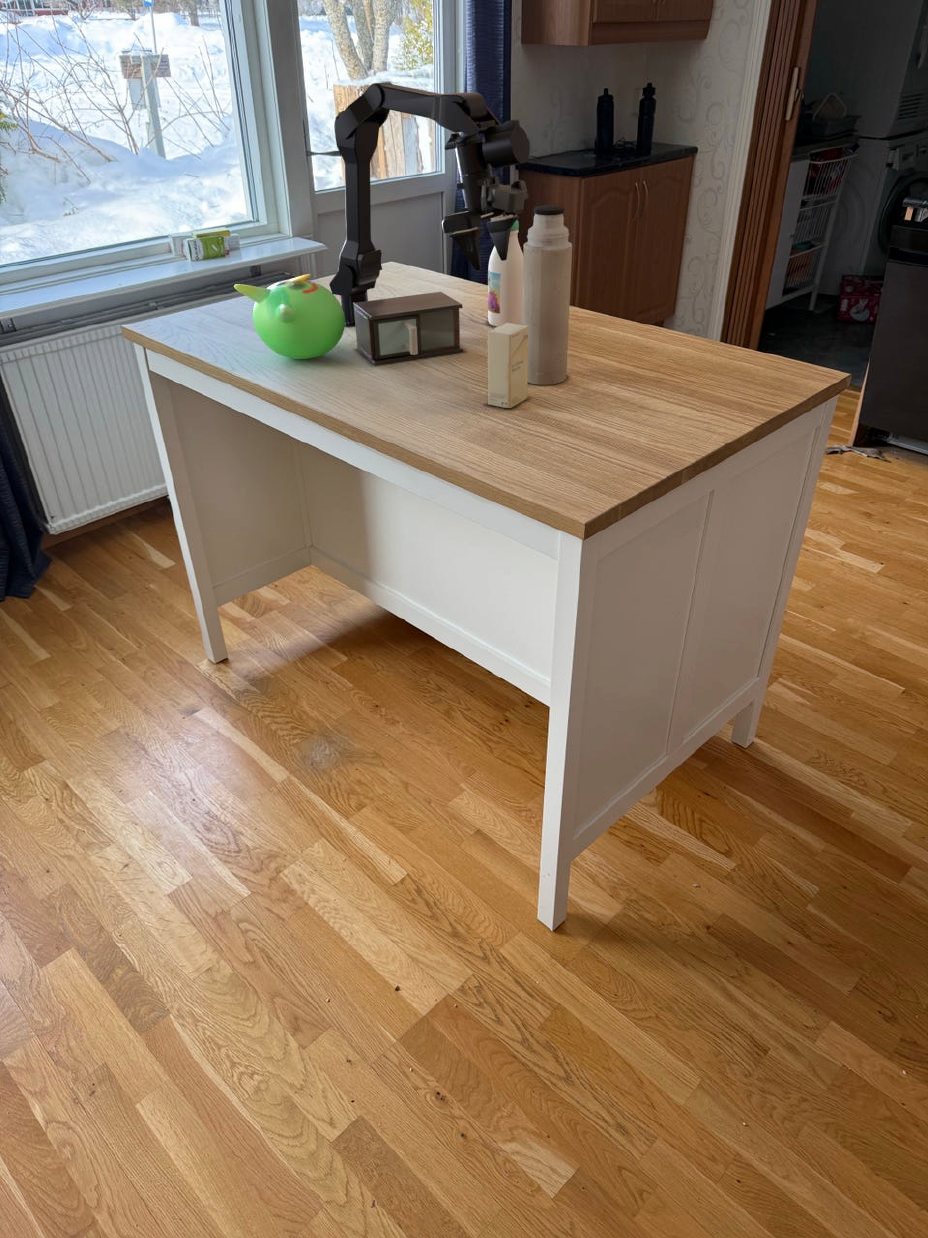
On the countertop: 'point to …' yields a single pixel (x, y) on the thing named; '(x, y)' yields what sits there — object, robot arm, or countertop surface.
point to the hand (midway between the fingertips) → (491, 265)
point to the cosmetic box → (507, 365)
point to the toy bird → (296, 317)
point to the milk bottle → (506, 284)
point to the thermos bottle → (547, 295)
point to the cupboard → (434, 323)
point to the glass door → (397, 336)
